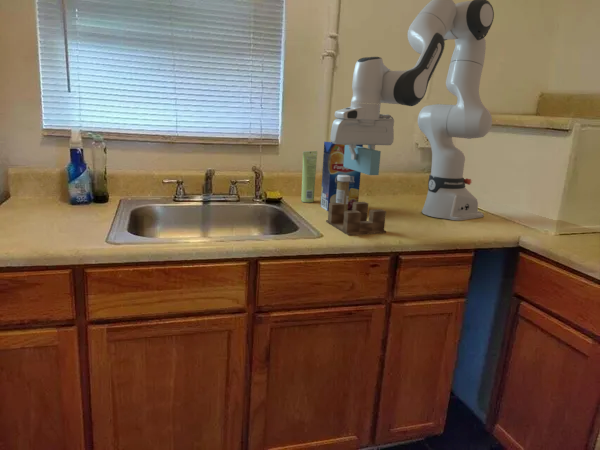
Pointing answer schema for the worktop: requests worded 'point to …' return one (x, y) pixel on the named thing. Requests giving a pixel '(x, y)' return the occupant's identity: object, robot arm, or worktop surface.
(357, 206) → the rack
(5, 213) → the worktop surface
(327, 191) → the juice carton
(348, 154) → the slat
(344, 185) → the sprinkles bottle
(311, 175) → the tube
